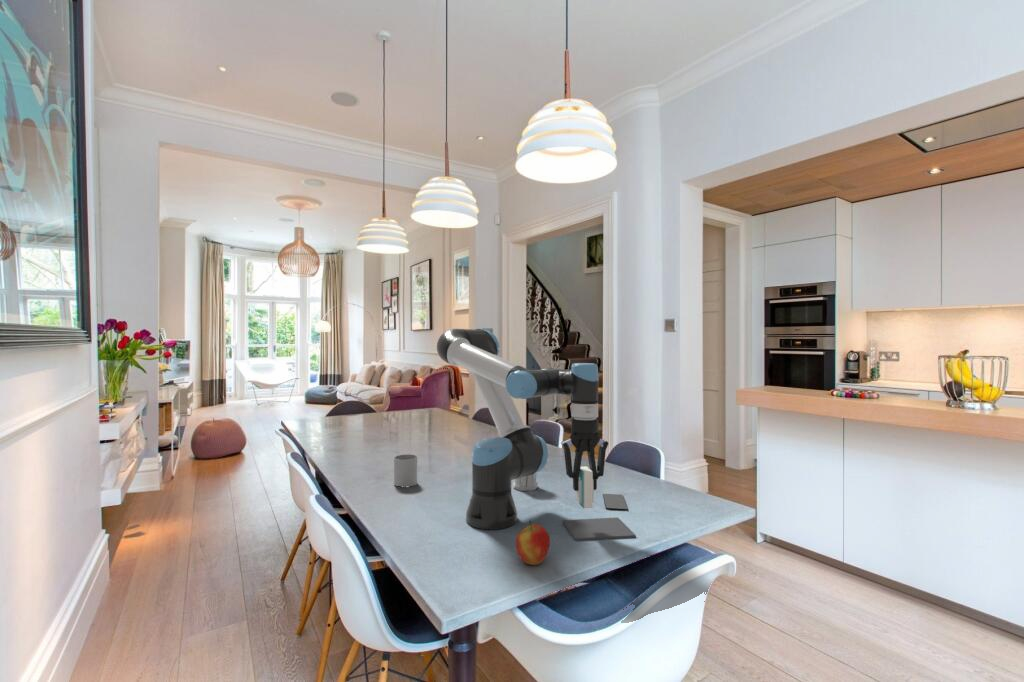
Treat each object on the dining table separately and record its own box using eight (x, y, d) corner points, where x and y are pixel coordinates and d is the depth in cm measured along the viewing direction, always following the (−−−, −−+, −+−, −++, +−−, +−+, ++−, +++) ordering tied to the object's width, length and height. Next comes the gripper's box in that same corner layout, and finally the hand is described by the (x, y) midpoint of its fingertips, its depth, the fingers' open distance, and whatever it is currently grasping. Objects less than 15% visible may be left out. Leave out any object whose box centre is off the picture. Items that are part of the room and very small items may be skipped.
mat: (575, 540, 125) (575, 538, 125) (562, 522, 138) (562, 520, 138) (635, 537, 128) (635, 535, 128) (617, 519, 140) (618, 517, 140)
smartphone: (622, 494, 162) (628, 509, 148) (622, 497, 162) (628, 512, 148) (602, 493, 163) (605, 507, 148) (602, 495, 163) (605, 510, 148)
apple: (543, 573, 107) (544, 529, 107) (510, 566, 110) (511, 524, 110) (553, 558, 115) (554, 517, 115) (522, 552, 118) (523, 512, 118)
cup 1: (411, 488, 169) (412, 460, 169) (390, 486, 170) (390, 459, 170) (420, 481, 177) (420, 454, 177) (399, 480, 179) (399, 453, 179)
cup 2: (505, 486, 172) (505, 453, 172) (523, 481, 178) (523, 449, 178) (524, 493, 164) (525, 458, 164) (543, 487, 170) (543, 454, 170)
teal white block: (583, 508, 129) (583, 471, 129) (577, 501, 134) (577, 466, 135) (592, 507, 129) (592, 471, 130) (586, 501, 135) (586, 466, 135)
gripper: (560, 420, 127) (560, 507, 127) (616, 419, 130) (616, 504, 129) (554, 416, 135) (554, 498, 135) (607, 415, 137) (607, 496, 137)
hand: (584, 501), depth 132 cm, fingers closed on teal white block, 3 cm apart
